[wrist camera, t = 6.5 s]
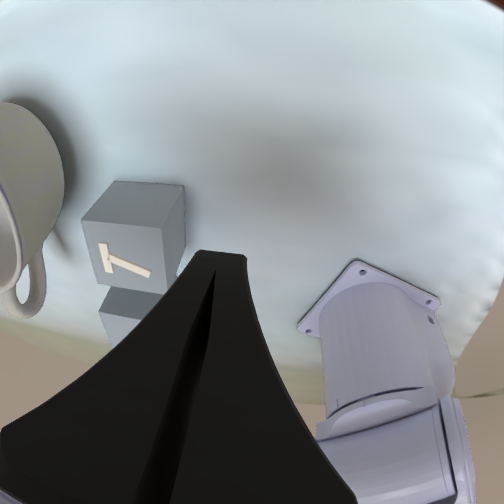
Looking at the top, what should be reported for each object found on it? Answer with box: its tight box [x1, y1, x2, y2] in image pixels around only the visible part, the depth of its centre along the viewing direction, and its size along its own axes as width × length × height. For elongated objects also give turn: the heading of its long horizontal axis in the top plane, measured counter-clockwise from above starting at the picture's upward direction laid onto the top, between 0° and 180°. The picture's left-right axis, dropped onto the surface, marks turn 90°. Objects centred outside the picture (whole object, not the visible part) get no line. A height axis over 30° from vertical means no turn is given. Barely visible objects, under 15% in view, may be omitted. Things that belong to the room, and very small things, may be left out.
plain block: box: [99, 276, 178, 348], centre depth 22 cm, size 4×4×4 cm
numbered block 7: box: [81, 181, 186, 294], centre depth 17 cm, size 4×4×5 cm
